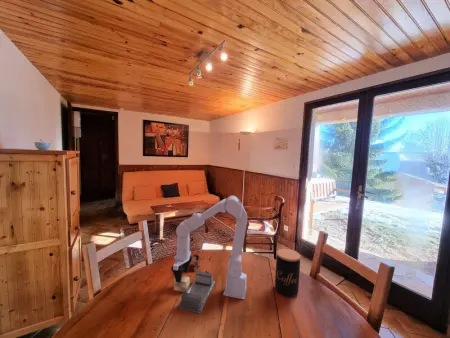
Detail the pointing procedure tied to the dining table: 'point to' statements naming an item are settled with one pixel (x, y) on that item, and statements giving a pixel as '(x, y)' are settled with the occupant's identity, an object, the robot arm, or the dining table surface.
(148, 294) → the dining table surface
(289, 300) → the dining table surface
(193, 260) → the pottery mug
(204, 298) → the vise
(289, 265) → the coffee jar
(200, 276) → the jaw
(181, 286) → the block
